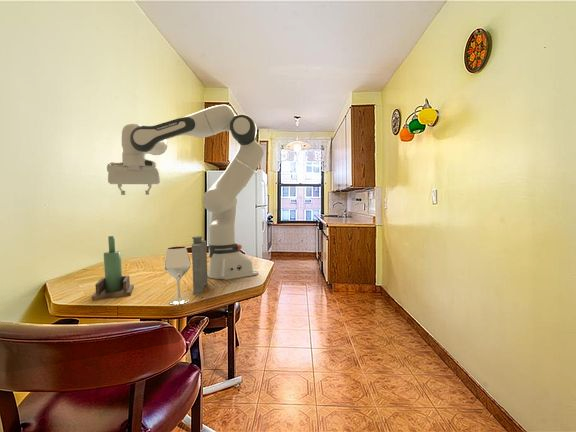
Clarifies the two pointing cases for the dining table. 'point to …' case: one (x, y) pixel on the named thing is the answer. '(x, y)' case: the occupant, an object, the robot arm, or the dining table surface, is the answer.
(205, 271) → the hip flask
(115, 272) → the bottle
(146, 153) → the robot arm
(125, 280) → the u rest
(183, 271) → the wineglass
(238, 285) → the dining table surface
